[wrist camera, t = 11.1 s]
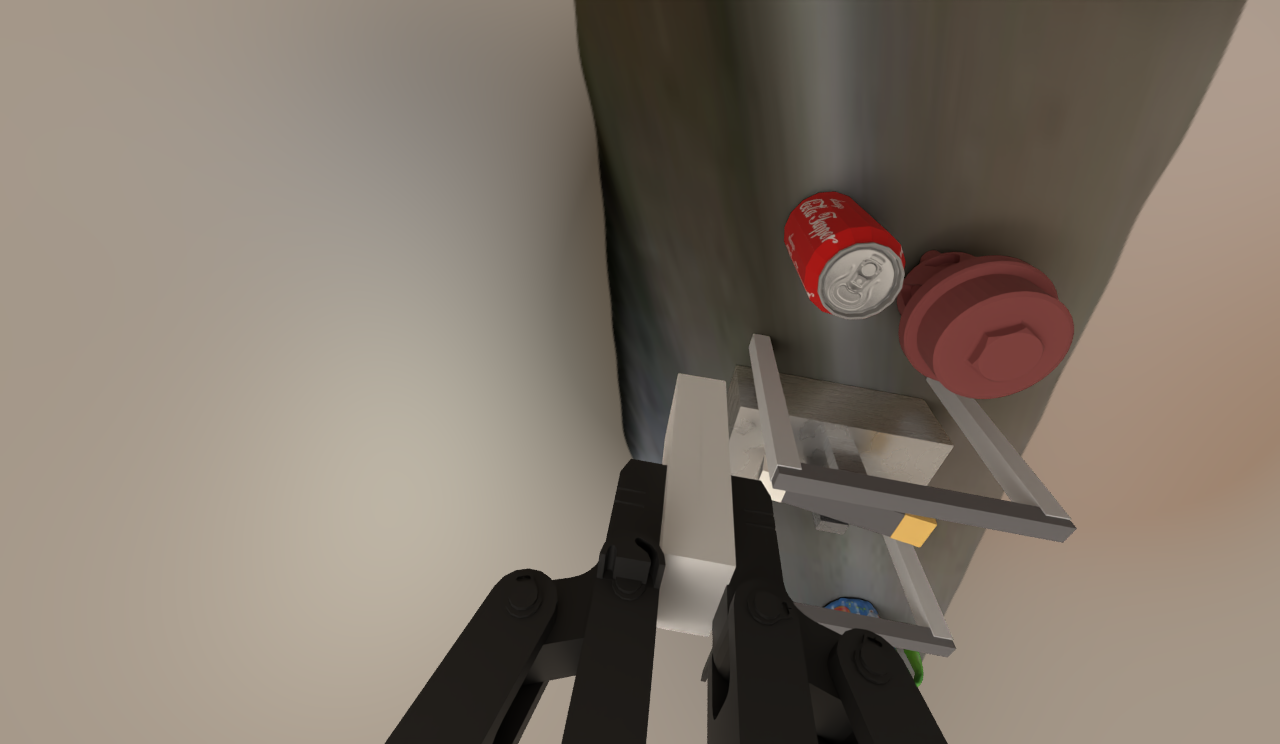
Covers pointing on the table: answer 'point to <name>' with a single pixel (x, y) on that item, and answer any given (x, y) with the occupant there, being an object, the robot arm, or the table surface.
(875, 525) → the lever
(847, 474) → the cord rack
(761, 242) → the table surface
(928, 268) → the mechanical component
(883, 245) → the soda can
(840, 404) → the grey box
